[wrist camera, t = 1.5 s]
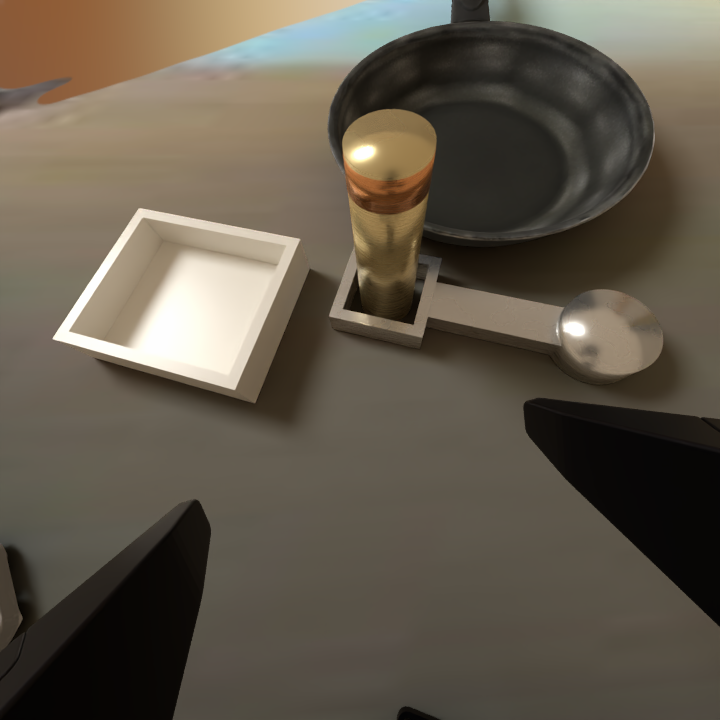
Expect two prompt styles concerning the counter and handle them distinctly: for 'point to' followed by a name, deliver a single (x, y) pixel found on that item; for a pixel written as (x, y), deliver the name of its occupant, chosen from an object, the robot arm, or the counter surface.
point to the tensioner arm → (520, 324)
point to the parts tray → (190, 302)
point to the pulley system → (7, 603)
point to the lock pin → (388, 204)
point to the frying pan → (507, 125)
